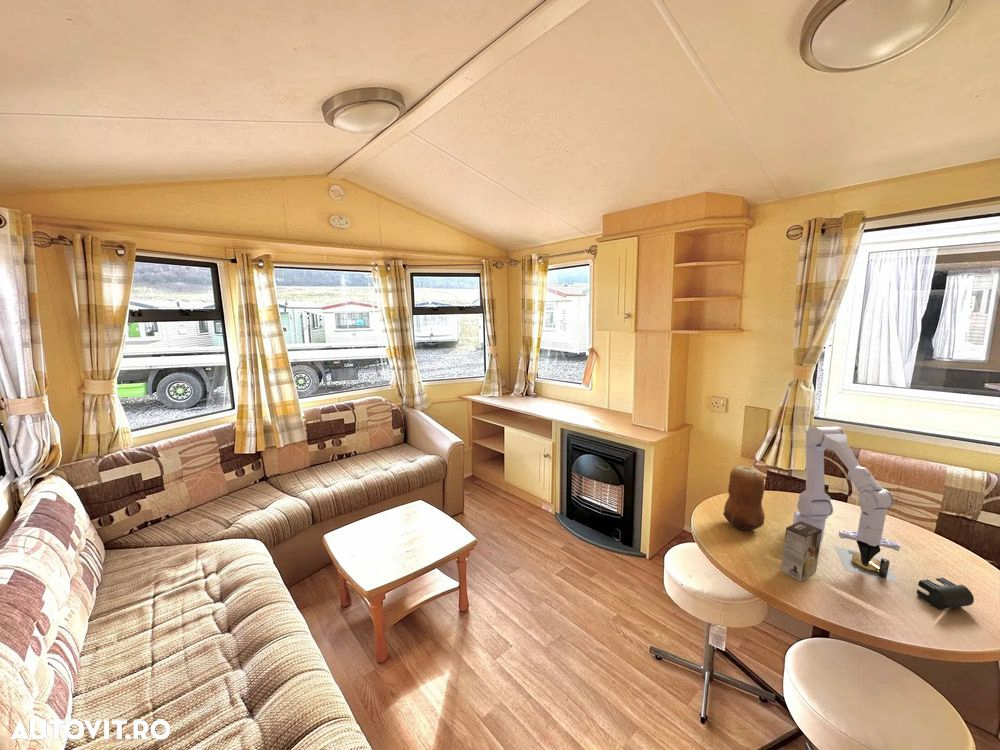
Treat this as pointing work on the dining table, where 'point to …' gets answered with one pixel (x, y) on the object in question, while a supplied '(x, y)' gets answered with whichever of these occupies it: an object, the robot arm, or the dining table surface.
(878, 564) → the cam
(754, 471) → the butternut squash
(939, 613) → the dining table surface
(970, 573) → the dining table surface
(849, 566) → the board
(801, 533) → the coffee box
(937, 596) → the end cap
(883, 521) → the robot arm
